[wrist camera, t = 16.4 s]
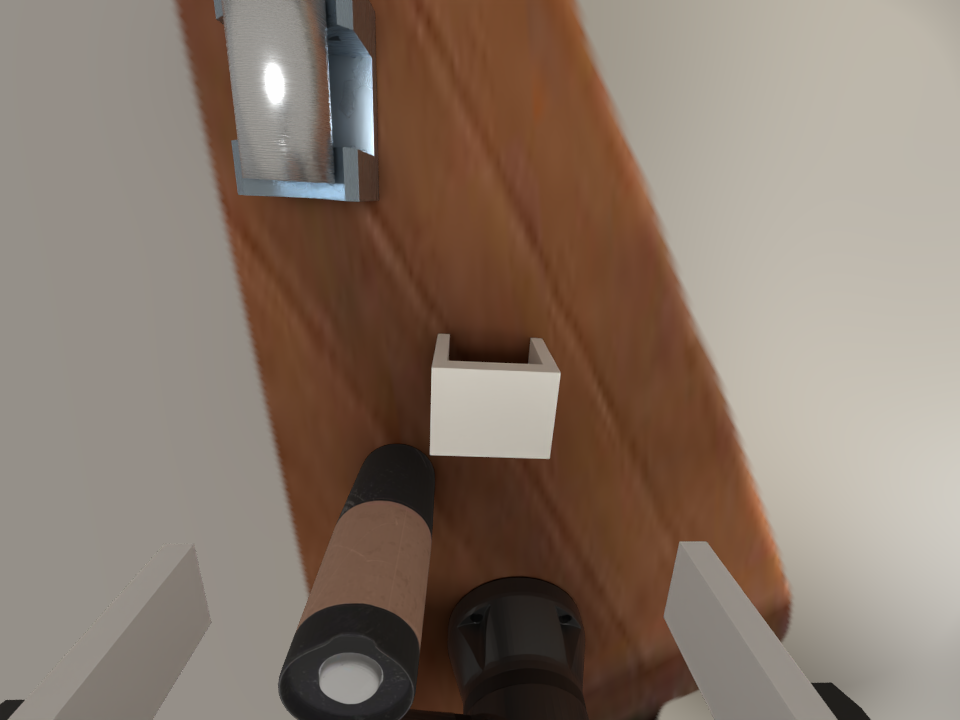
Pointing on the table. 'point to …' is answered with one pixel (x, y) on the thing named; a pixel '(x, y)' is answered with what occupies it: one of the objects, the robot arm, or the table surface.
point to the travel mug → (367, 598)
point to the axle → (281, 88)
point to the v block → (339, 111)
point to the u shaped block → (493, 405)
